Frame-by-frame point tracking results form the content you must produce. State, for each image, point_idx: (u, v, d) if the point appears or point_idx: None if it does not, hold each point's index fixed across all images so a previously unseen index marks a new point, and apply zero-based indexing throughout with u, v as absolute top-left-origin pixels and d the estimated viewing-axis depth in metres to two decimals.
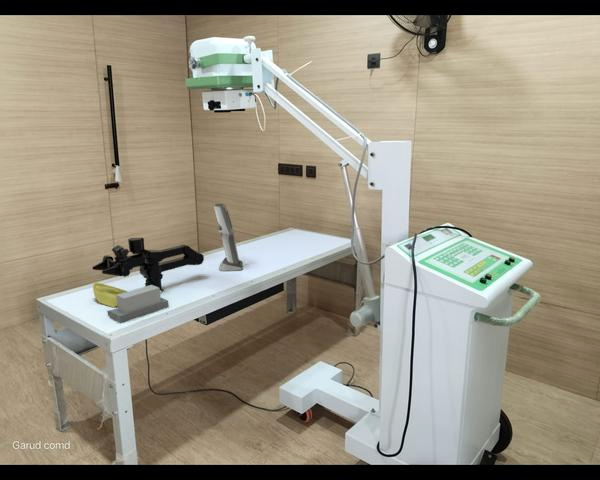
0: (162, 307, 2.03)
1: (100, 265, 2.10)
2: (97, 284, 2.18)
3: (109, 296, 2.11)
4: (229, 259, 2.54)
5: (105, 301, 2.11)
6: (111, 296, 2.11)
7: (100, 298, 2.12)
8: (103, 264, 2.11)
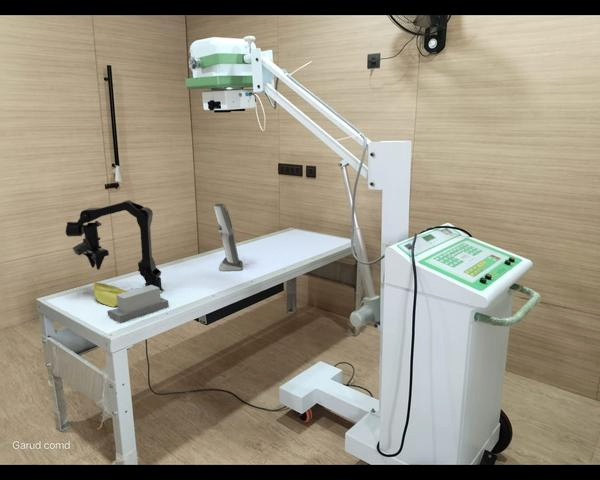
0: (162, 307, 2.03)
1: (91, 260, 2.24)
2: (97, 284, 2.19)
3: (109, 296, 2.11)
4: (229, 259, 2.54)
5: (105, 301, 2.11)
6: (111, 296, 2.11)
7: (100, 298, 2.13)
8: (90, 257, 2.24)
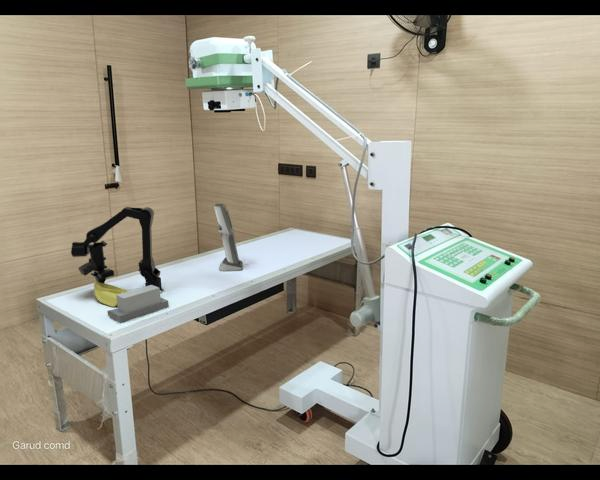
0: (162, 307, 2.03)
1: None
2: (98, 283, 2.19)
3: (109, 295, 2.11)
4: (229, 259, 2.54)
5: (105, 300, 2.11)
6: (111, 295, 2.11)
7: (100, 297, 2.13)
8: None
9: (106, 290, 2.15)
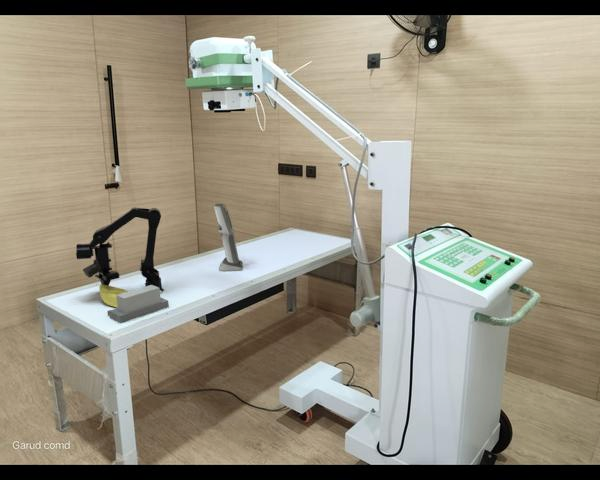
0: (162, 307, 2.03)
1: None
2: (103, 286, 2.15)
3: None
4: (229, 259, 2.54)
5: (113, 303, 2.07)
6: None
7: (107, 300, 2.09)
8: None
9: (112, 292, 2.12)
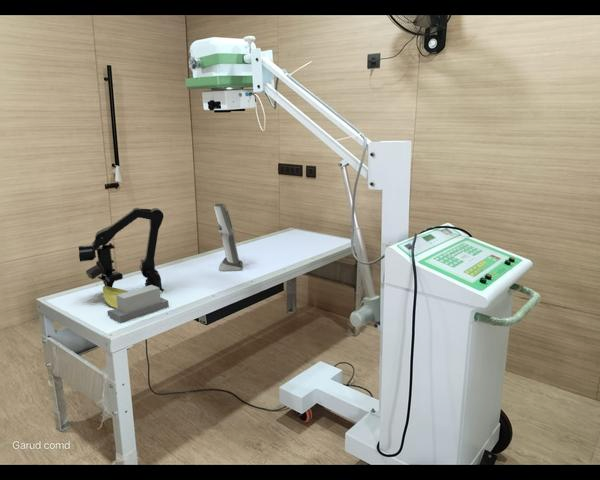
0: (162, 307, 2.03)
1: None
2: (107, 287, 2.13)
3: None
4: (229, 259, 2.54)
5: (116, 304, 2.06)
6: None
7: (111, 301, 2.08)
8: None
9: (116, 294, 2.10)
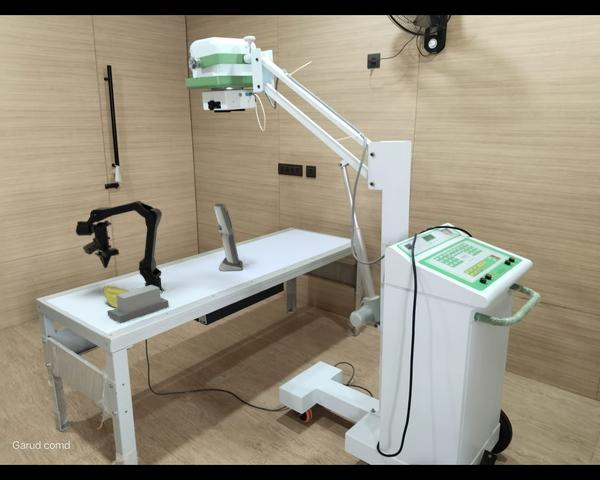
0: (162, 307, 2.03)
1: None
2: (108, 287, 2.14)
3: None
4: (229, 259, 2.54)
5: None
6: None
7: (111, 301, 2.08)
8: None
9: (117, 293, 2.11)
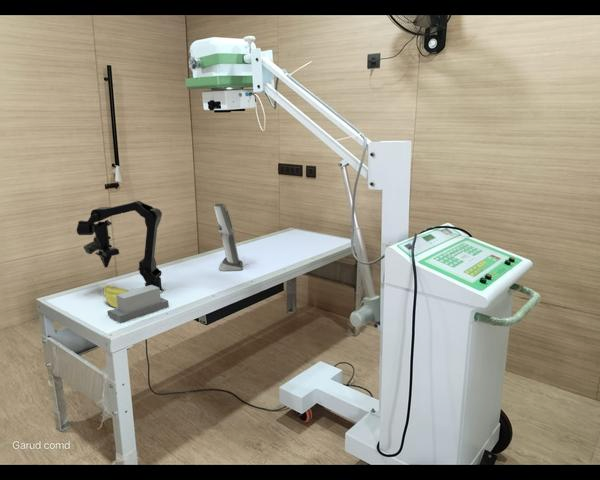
0: (162, 307, 2.03)
1: None
2: (108, 287, 2.14)
3: None
4: (229, 259, 2.54)
5: (116, 304, 2.07)
6: None
7: (111, 301, 2.08)
8: None
9: (117, 293, 2.11)
